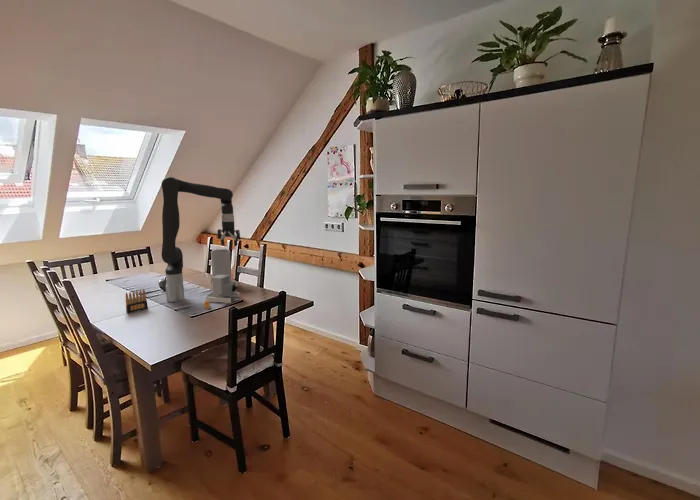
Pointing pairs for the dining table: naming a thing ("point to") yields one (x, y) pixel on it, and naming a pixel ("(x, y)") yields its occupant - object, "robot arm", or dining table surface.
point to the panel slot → (219, 299)
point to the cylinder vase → (221, 262)
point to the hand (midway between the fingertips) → (229, 245)
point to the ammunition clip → (136, 302)
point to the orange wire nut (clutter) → (206, 304)
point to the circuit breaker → (223, 286)
